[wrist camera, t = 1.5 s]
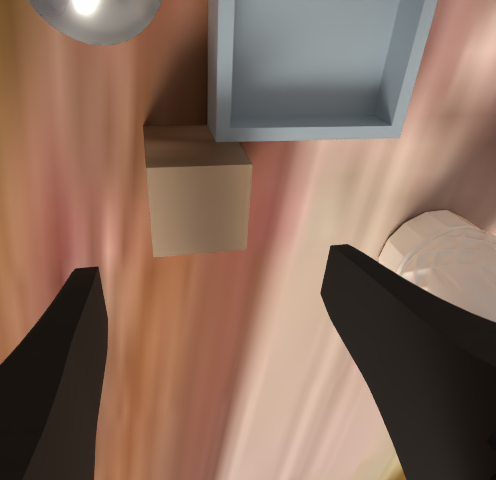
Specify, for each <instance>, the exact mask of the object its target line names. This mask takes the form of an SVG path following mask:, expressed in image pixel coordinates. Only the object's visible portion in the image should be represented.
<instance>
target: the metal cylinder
mask: <svg viewBox="0 0 496 480" xmlns="http://www.w3.org/2000/svg"><path fill="white" fill-rule="evenodd" d="M28 1H29V2H30V4H31V5H32V6H33V7H34V9H35V10H36V11H37V12H38V13H39V14H40V15H41V16H42V17H43V18H44V19H45V20H46V21H47V22H48V23H49V24H50V25H52V26H53V27H54V28H55V29H57V30H58V31H60V32H62V33H63V34H65V35H67V36H69V37H71V38H73V39H75V40H78V41H81V42H84V43H88V44H93V45H113V44H119V43H122V42H125V41H128V40H130V39H131V38H133V37H135V36H137V35H138V34H139V33H141V32H142V31H143V30H144V29H145V28H146V27H147V26H148V25H149V24H150V22H151V21H152V20H153V18H154V17H155V15H156V13H157V11H158V9H159V7H160V4H161V1H162V0H28Z"/></svg>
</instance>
